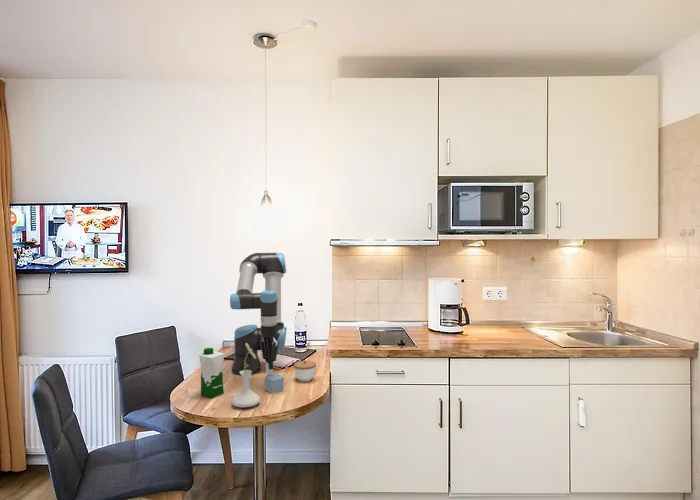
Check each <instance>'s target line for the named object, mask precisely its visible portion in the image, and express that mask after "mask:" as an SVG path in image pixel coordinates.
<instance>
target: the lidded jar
mask: <svg viewBox="0 0 700 500" xmlns="http://www.w3.org/2000/svg"><path fill="white" fill-rule="evenodd" d="M293 368H294V369H293V371H294V375H295V378H297V380H298V381H299V382H303V383H306V382H311V381H312V379H313V378H314V377H315V375H316V372H317V363H316V362H315V361H312V360H302V361H301V360H300V361H297V362H294V363H293Z"/></svg>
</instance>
